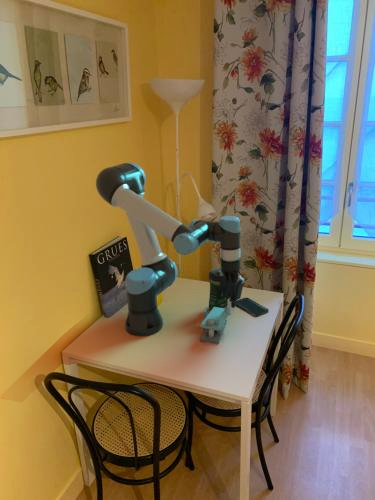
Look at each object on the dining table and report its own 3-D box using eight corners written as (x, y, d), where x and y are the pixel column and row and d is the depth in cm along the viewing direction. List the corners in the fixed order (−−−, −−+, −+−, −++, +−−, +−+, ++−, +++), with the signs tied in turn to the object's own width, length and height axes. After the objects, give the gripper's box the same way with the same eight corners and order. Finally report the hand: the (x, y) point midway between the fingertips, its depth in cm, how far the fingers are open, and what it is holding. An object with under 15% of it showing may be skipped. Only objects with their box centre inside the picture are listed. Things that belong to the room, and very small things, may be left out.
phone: (246, 296, 182) (269, 310, 170) (246, 299, 182) (269, 312, 171) (232, 301, 178) (255, 315, 166) (232, 304, 179) (255, 318, 167)
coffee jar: (217, 316, 169) (217, 275, 162) (206, 309, 175) (204, 269, 168) (235, 308, 174) (235, 269, 167) (223, 302, 180) (222, 263, 173)
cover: (218, 330, 148) (217, 322, 147) (200, 327, 151) (200, 318, 150) (230, 312, 161) (230, 304, 159) (213, 309, 163) (213, 301, 162)
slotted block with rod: (197, 341, 152) (197, 325, 149) (207, 319, 166) (207, 304, 164) (218, 343, 150) (218, 327, 147) (226, 321, 164) (226, 306, 162)
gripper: (250, 259, 147) (250, 315, 156) (224, 251, 157) (225, 305, 165) (237, 265, 143) (237, 323, 151) (210, 256, 152) (212, 311, 160)
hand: (231, 313), depth 158 cm, fingers closed
